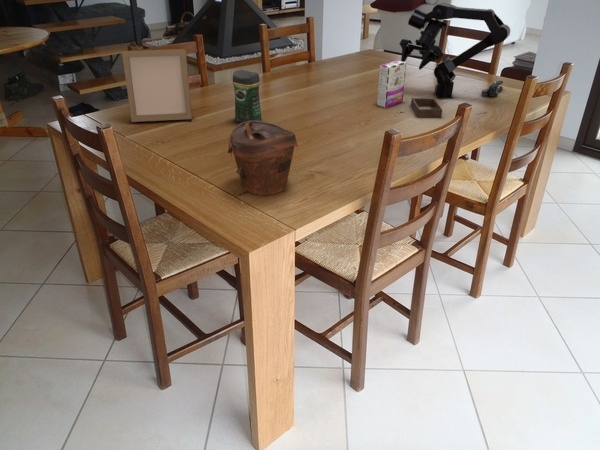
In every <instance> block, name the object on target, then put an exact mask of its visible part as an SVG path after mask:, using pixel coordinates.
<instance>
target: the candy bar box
mask: <svg viewBox="0 0 600 450" xmlns="http://www.w3.org/2000/svg"><path fill="white" fill-rule="evenodd" d="M406 70H407V62H406V61H405V62H403V61H401V60H394V61H390V62H387V63H383V64H380V65H379V73H378V87H377V102H376V105H377V106H378V107H381V108H384V109H387V108H390V107H393V106H395V105H399V104H401V103H403V101H404V90H405V80H406V72H407V71H406Z"/></svg>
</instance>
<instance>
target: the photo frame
mask: <svg viewBox="0 0 600 450" xmlns="http://www.w3.org/2000/svg"><path fill="white" fill-rule="evenodd" d="M121 56H122V63H123V71H124V77H125V85H126V91H127V99H128V106H129V107H128V108H129V114H130V120H131V123H138V122H140V123H141V122H158V121H159V122H160V121H178V120H181V121H182V120H192V119H193V110H192V100H191V91H190V90H191V89H190V80H189V71H188V69H189V68H188V60H187V59H188V58H187V51H186V48H174V49H173V48H172V49H171V48H170V49H142V50H121Z"/></svg>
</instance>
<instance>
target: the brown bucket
mask: <svg viewBox="0 0 600 450" xmlns="http://www.w3.org/2000/svg"><path fill="white" fill-rule="evenodd" d="M227 147H228V148H227V154H230V157H231V158H232V154H233V157H234V160H235V164H236V168H237V170H236V171H235V172H236V174H238V175H239V178H240V182H241V185H242V187H243V189H244V190H246V191H247V192H249V193H251V194H254V195H258V196H269V195H275V194H277V193H280V192H282V191H284V189H285V188H286V187H287V185H288V184H287V183H288V179H289V178H288V177H289V176H290V175H289V174H290V170H291V165H292V161H293V156H294V151H295V147H298V148H299V145H298V141H297V137H296V134H295V132H293V131H291V130H288V129H285V128H283V127H281V126H279V125H277V124H274V123H271V122H267V121H263V120H261V121H246V122H243V123H239V124H238V125H237V126H236V127H234V128H233V130H232V131H231V133H230V135H229V138H228V146H227Z"/></svg>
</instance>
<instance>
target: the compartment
mask: <svg viewBox="0 0 600 450" xmlns="http://www.w3.org/2000/svg"><path fill="white" fill-rule="evenodd" d="M410 107H411V109H412V111H413V113H414V115H415V116H416V118H419V119H421V118H423V119H424V118H426V119H441V118H442V113H443V109H442V107H441V106H440V104H439V103H438V102H437V100H436V99H435V98H434V97H430V98H429V97H412V98H411V100H410ZM420 107H431V108H420Z"/></svg>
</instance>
